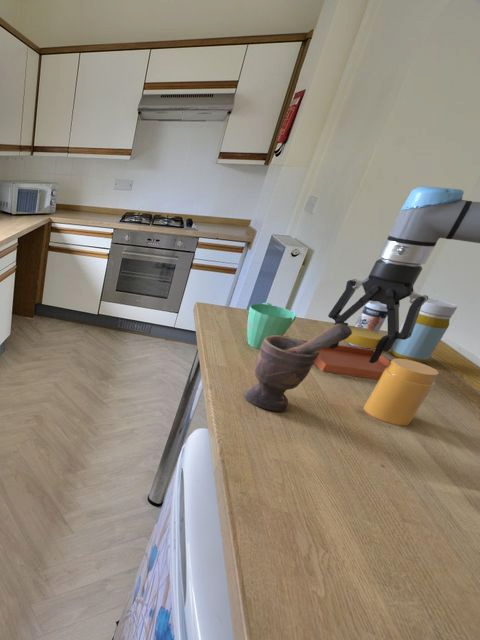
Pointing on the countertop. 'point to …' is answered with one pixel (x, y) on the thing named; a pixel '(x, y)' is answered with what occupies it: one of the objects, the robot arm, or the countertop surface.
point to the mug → (267, 322)
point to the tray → (351, 361)
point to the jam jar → (400, 391)
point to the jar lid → (364, 337)
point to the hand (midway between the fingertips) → (352, 354)
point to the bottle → (425, 331)
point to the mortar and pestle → (287, 365)
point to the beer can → (372, 317)
